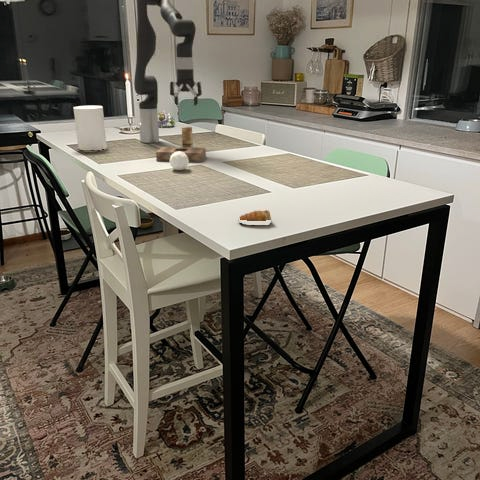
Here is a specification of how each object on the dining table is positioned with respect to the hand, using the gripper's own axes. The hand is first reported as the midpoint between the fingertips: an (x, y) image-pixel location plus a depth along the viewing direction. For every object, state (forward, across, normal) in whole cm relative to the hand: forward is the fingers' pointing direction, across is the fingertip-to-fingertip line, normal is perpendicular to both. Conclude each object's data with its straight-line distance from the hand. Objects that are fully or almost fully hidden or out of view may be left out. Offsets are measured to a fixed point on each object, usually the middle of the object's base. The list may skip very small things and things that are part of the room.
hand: (186, 105), depth 225 cm
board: (+22, 0, -13) cm, 26 cm away
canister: (+22, -49, +4) cm, 54 cm away
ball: (+22, +4, -34) cm, 41 cm away
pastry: (+23, +41, -95) cm, 106 cm away
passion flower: (+22, -32, +77) cm, 86 cm away
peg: (+22, 0, 0) cm, 22 cm away
